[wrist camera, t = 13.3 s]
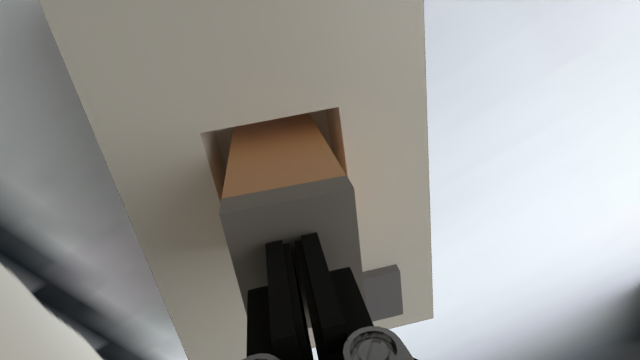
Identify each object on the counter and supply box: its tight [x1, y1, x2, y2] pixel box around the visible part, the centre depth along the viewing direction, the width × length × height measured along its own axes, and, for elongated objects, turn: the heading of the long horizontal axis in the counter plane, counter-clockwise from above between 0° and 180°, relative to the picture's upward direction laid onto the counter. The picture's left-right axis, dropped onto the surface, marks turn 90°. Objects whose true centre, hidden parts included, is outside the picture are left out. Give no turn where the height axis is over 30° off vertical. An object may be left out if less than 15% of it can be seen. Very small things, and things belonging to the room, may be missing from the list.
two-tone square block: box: [219, 113, 366, 328], centre depth 17 cm, size 5×4×10 cm
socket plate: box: [39, 0, 433, 360], centre depth 19 cm, size 20×14×6 cm
